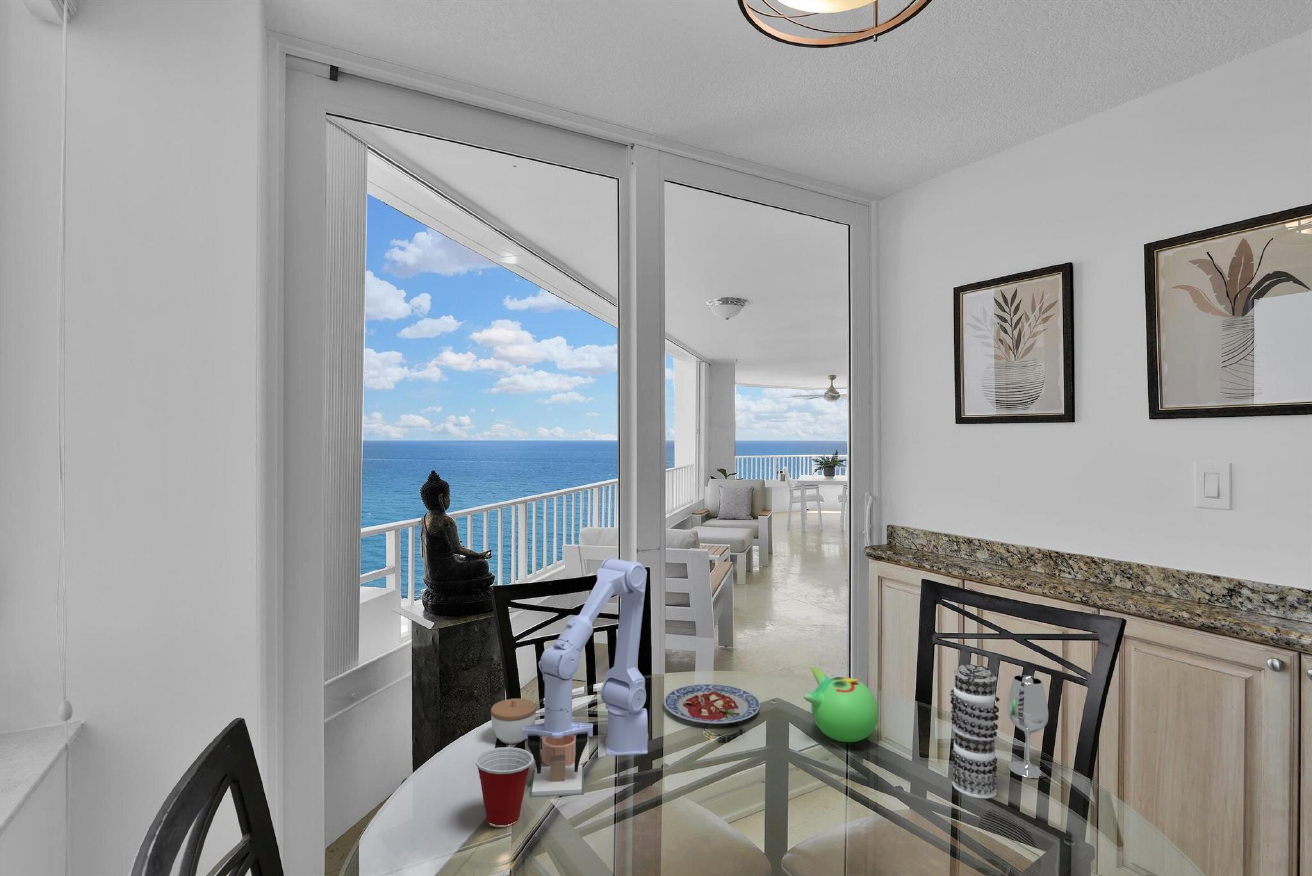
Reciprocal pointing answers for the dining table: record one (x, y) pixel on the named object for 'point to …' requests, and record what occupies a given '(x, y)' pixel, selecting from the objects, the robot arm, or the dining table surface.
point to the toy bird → (843, 707)
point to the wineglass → (1027, 717)
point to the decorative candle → (974, 731)
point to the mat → (558, 794)
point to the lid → (557, 778)
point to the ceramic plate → (711, 703)
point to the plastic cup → (503, 782)
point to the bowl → (559, 748)
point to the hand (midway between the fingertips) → (557, 770)
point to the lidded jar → (512, 719)
